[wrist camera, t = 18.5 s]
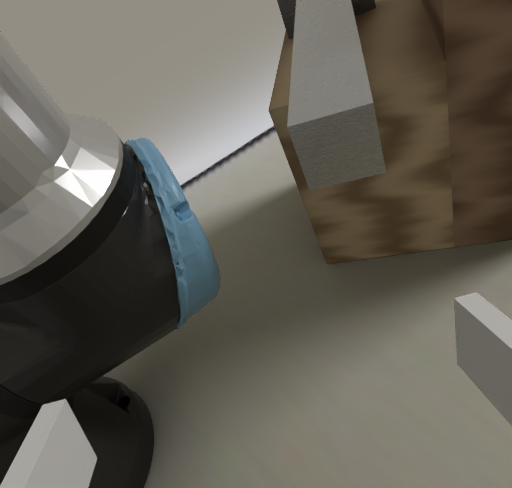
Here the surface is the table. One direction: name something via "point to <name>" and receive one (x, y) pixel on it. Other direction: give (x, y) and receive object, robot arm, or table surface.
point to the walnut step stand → (422, 132)
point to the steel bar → (330, 93)
